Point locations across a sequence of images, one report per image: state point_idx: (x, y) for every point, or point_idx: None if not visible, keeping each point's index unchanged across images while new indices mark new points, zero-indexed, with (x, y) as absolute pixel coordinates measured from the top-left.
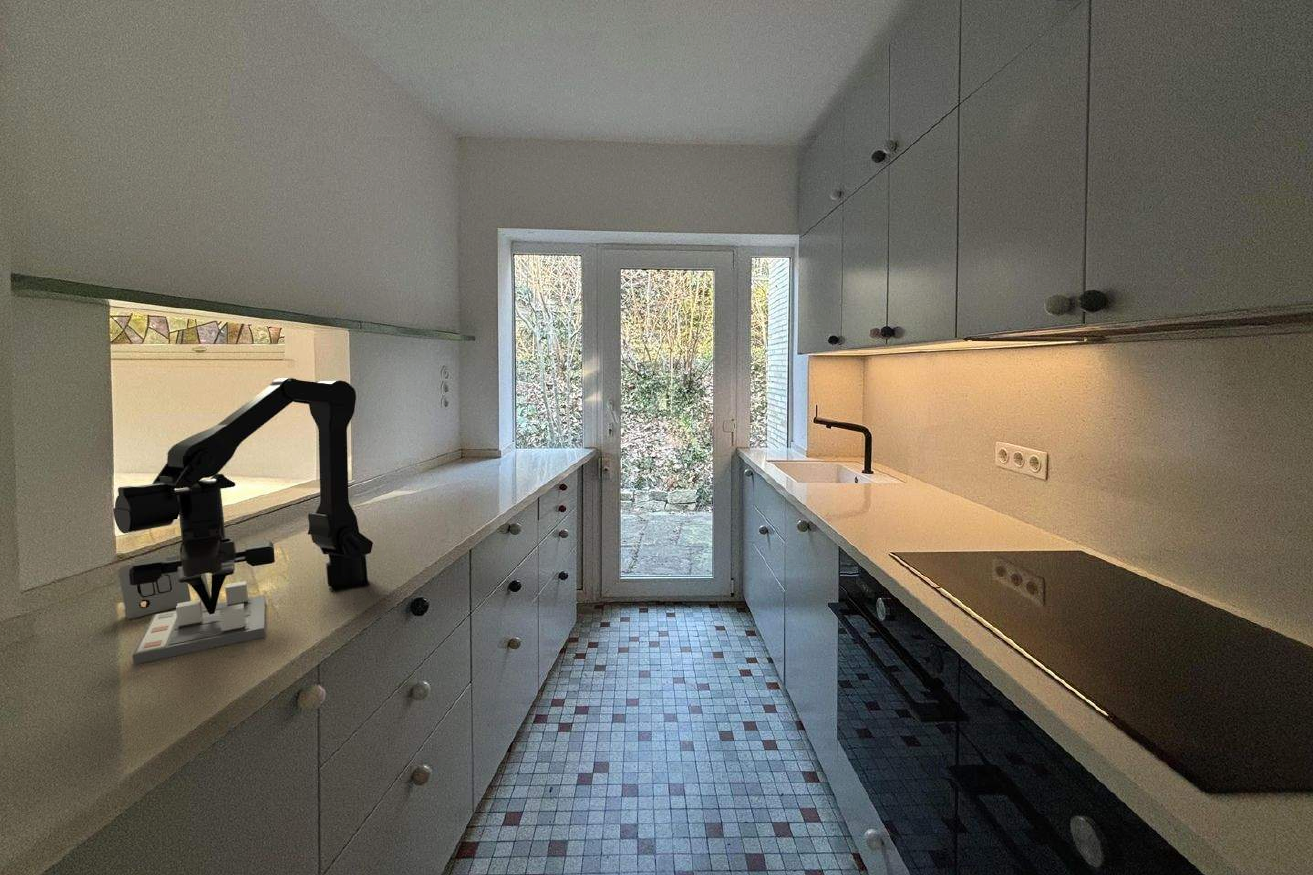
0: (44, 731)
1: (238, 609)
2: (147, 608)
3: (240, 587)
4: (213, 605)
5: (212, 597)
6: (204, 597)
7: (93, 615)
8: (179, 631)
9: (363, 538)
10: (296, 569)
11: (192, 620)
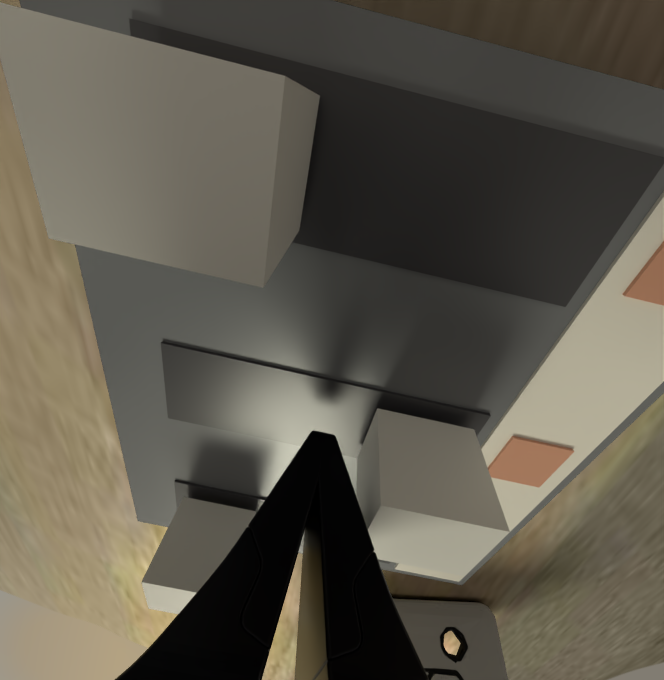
0: None
1: (58, 23)
2: (446, 622)
3: (172, 574)
4: (306, 464)
5: (297, 517)
6: (346, 537)
7: (518, 651)
8: (485, 377)
9: None
10: (112, 614)
11: (415, 427)
